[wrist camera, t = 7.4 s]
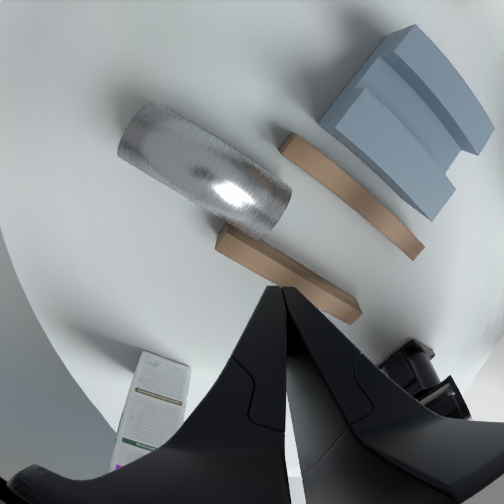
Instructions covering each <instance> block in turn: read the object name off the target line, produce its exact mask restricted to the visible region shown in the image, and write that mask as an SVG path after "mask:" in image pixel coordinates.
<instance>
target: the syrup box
mask: <svg viewBox="0 0 504 504" xmlns="http://www.w3.org/2000/svg"><path fill="white" fill-rule="evenodd" d="M190 374H191V368H190V367H188V366H185V365H182V364H180V363H177V362H174V361H172V360H169V359H166V358H163V357H161V356H158V355H155V354H152V353H150V352H147V351H144V350H143V352H142V354H141V356H140V359H139V361H138V364H137V367H136V370H135V373H134V376H133V379H132V382H131V386H130V389H129V392H128V395H127V399H126V402H125V405H124V408H123V412H122V415H121V419H120V423H119V427H118V431H117V436H116V440H115V445H114V450H113V455H112V461H111V466H110V472H111V471H114V470H116V469H118V468H120V467H122V466H124V465H126V464H128V463H130V462H132V461H134V460H136V459H138V458H140V457H142V456H144V455H146V454H148V453H149V452H151V451H153V450H155V449H157V448H158V447H160V446H161V445H163V444H164V443H165V442H166V441H168V440H169V439H170V438H171V437H172V436H173V435H174V434H175V433H176V431H177V430H178V429H179V428H180V427H181V426H182V424H183V423H184V416H185V408H186V401H187V395H188V388H189V381H190Z"/></svg>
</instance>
